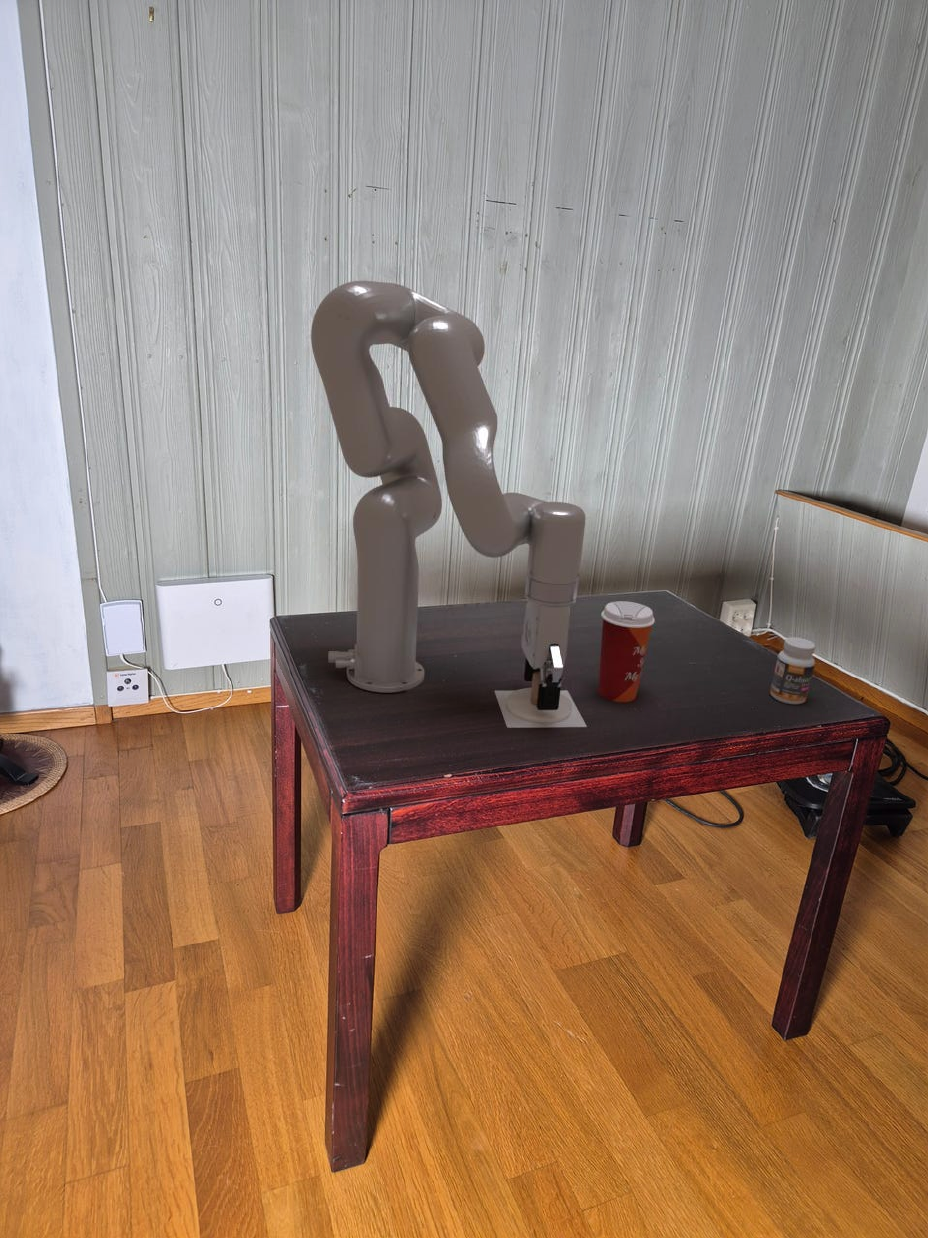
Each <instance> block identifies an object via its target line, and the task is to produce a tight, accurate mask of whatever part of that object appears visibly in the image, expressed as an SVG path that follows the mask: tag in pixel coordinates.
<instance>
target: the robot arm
mask: <svg viewBox="0 0 928 1238" xmlns="http://www.w3.org/2000/svg"><path fill="white" fill-rule="evenodd" d="M310 331H311V332H310V341H311V349H312V354H313V357H314V361H315V363H316V367H317V369H318V372H319V375H320V378H321V382H322V384H323V387H324V391H325V394H326V398H327V403H328V407H329V411H330V413H331V418H332V420H333V424H334V428H335V431H336V435H337V439H338V442H339V446H340V450H341V453H342V456H343V458H344V461H345V464H346V465H347V467H348V468H349V469H350V471H352V473H354V475H357V476H358V477H361V478H368V479H369V478H370V479H371V478H377V477H380V481H381V484H380V485H378V486H375V487H373V488H372V489H370V490H369V491H368V492H366V493H364V495H362V497H361V498H360V500H359V501H358V502H357V504H356V506H355V509H354V511H353V516H352V528H353V530H352V531H353V537H354V542H355V546H356V547H355V548H356V559H357V560H356V561H357V562H356V563H357V583H356V584H357V597H356V598H357V607H356V608H357V609H356V610H357V611H356V613H357V614H356V643H354V649H353V648H352V649H348V651H339V650H336V651H335V650H329V651H328V655H327V656H328V657H327V659H328V662H327V663H329V664H335V668H336V669H344V668H346V678H347V680H348V681H349V682H350V683H351V684H352V685H353V686H355V687H356V688H359V689H362V690H366V691H368V692H375V693H386V694H388V693H389V694H390V693H401V692H406V691H407V690H410V689H414V688H416V687H418V686H419V685H420V684H421V683H423V681H424V679H425V668H424V667H423V666H422V664H420V663H419V662H418V661H416V657H417V656H416V654H417V653H416V652H417V632H418V631H417V629H418V609H419V607H418V605H419V587H420V586H419V582H420V580H419V579H420V568H419V567H420V566H419V560H418V553H417V548H416V539H417V538H418V537H420V536H421V535H423V534H424V533H426V532H428V531H429V530H430V529H431V528H433V527H434V526H435V524H437V522H438V521H439V519H440V516H441V514H442V509H443V499H442V498H443V497H442V494H441V488H440V484H439V481H438V477H437V473H436V468H435V465H434V463H433V462H434V461H433V458H432V454H431V450H430V446H429V443H428V439H427V435H426V434H425V431H424V428H423V426H422V424H421V423H420V422H419V420H418V419H417V418H416V417H415V416H414V414H412V413H411V412H409V411H408V410H406V409H404V408H401V407H397V406H396V407H395V406H390V403H389V400H388V397H387V394H386V389H385V386H384V380H383V378H382V375H381V373H380V370H379V368H378V367H377V365H376V363H375V362H374V360H373V358H372V355H371V351H370V350H371V349H370V348H371V347H372V346H373V345H374V346H375V345H385V344H386V345H388V344H390V345H392V346H395V347H397V348H399V349H401V350H402V351H404V352H406V353H407V355H408V359H409V362H410V364H411V367H412V370H413V373H414V374H415V376H416V380H417V382H418V384H419V387H420V391H421V392H422V394H423V396H424V400H425V401H426V404H427V406H428V409H429V412H430V414H431V416H432V419H433V421H434V422H433V423H434V424H435V427H436V430H437V432H438V434H439V436H440V440H441V445H442V447H441V448H442V449H441V450H442V463H443V468H444V476H445V477H444V479H445V484H446V485H445V486H446V490H447V495H448V498H449V501H450V503H451V507H452V508H453V510H454V514H455V517H456V519H457V520H458V521H457V522H458V523H459V526H460V529H461V530H462V533H463V536H465V539H466V540H467V542H468V543H469V545H470V546H471V547H472V549H474V550H475V552H477V553H478V554H480V555H482V556H484V557H486V558H493V559H495V558H497V559H498V558H501V557H505V556H506V555H509V553H511V552H512V551H514V550H516V548H518V547H519V546H522V545H525V544H526V545H528V546H529V547H528V557H527V558H528V559H527V566H526V568H527V570H526V576H525V577H526V579H525V580H526V581H525V590H524V591H525V592H524V597H525V599H526V601H527V602H526V606H525V612H524V620H523V626H522V633H521V639H520V641H521V642H520V645H521V649H522V650H523V654H524V656H525V660H524V661H525V663H524V673H523V679H524V681H526V682H532V679H533V674H534V673H535V672H541V684H539V687H538V697H537V709H538V710H557V709H558V708H559V699H560V691H562V690H561V689H562V681H563V679H562V678H563V672H564V667H565V666H566V661H567V654H568V653H567V652H568V646H569V645H568V644H569V633H570V632H569V631H570V620H571V618H570V613H571V606H572V605H574V604H575V603H576V601H577V597H578V589H579V581H580V573H581V572H580V570H581V562H582V555H583V546H584V545H583V544H584V534H585V530H586V529H585V527H586V514H585V512H584V510H583V509H582V508H581V507H580V506H578V505H576V504H572V503H569V502H563V501H562V502H561V501H546V500H543V499H539V498H535V497H532V496H530V495H527V494H524V493H523V494H522V493H519V492H506V493H503V492H502V490H501V489H502V488H501V487H500V484H499V481H498V478H497V477H498V476H497V473H496V469H495V463H494V445H495V441H496V440H495V439H496V436H497V431H498V416H497V412H496V409H495V407H494V405H493V402H492V400H491V397H490V395H489V393H488V390H487V388H486V385H485V382H484V380H483V376H482V375H481V373H480V370H479V366H480V365H481V364H482V361H483V359H484V356H485V355H484V354H485V351H486V350H485V349H486V348H485V346H486V344H485V339H484V336H483V334H482V332H481V330H480V328H479V327H478V326H477V324H476V323H475V322H473V321H472V320H471V319H470V318H468V317H466V316H464V315H463V314H461V313H458V312H457V311H455V310H453V309H450V308H448V307H446V306H444V305H442V304H440V303H439V302H437V301H434V300H433V299H431V298H428V297H426V296H425V295H423V294H421V293H419V292H417V291H416V290H414V289H411V288H409V287H407V286H404V285H402V284H399V283H394V282H385V281H374V280H354V281H349V282H345V283H343V284H340V285H339V286H336V287H335V288H333V289H332V290H331V291H330V292H329V293H328V294H327V295H326V296H324V298H323V299H322V301H320V304H319V305H318V307H317V309H316V311H315V314H314V316H313V320H312V323H311V330H310ZM547 663H550V664H547ZM547 671H551V672H550V673H549V675H548V676H547V678H546V673H547Z"/></svg>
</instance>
